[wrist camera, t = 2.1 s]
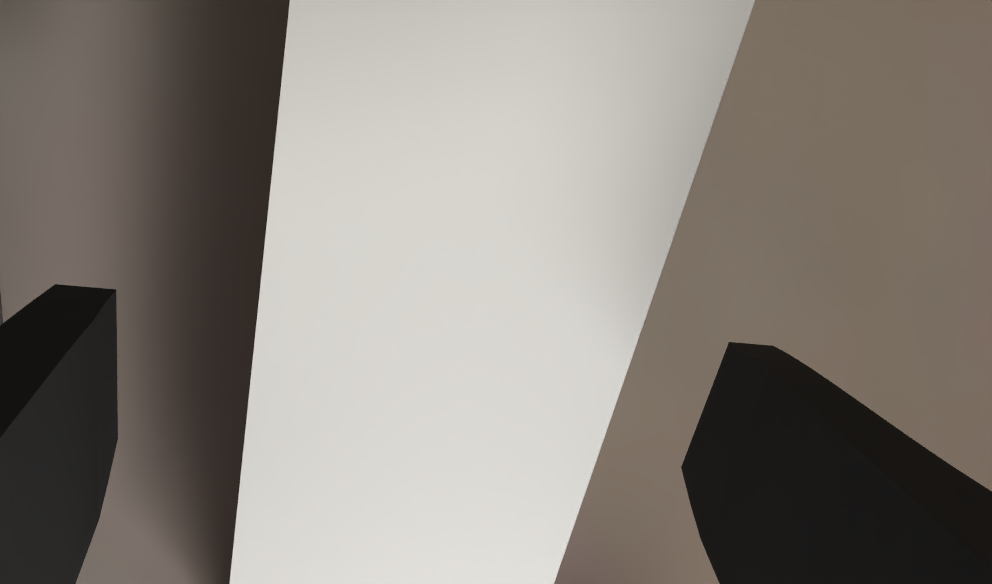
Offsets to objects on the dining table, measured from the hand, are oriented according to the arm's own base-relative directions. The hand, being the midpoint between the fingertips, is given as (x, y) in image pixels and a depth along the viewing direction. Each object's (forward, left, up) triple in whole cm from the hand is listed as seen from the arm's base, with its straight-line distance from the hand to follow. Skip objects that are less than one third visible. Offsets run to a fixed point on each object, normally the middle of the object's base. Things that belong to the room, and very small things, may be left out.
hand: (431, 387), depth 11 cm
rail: (0, 0, -4) cm, 4 cm away
